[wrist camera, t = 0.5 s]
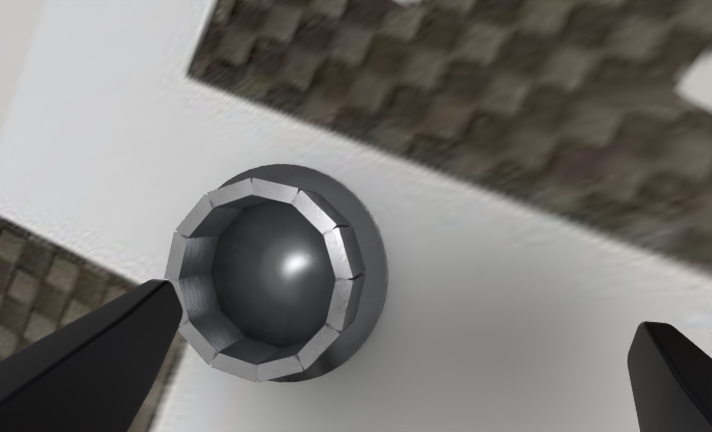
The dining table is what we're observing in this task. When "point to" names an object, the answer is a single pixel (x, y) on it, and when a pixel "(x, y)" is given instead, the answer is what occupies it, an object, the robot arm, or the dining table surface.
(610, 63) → the dining table surface
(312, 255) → the duct collar
